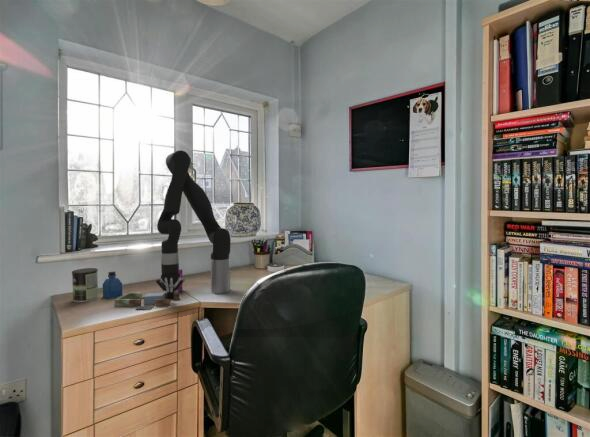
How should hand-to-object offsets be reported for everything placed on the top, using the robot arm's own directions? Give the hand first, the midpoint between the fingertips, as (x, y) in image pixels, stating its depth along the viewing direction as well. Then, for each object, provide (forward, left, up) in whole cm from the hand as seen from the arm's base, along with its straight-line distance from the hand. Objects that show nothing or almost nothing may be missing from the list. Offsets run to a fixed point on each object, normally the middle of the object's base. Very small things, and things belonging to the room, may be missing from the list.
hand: (170, 299), depth 143 cm
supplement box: (+6, -18, -2) cm, 19 cm away
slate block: (+8, 0, -2) cm, 8 cm away
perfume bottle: (+34, -10, -2) cm, 35 cm away
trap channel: (+11, 0, -2) cm, 11 cm away
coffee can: (+44, -5, -2) cm, 44 cm away
